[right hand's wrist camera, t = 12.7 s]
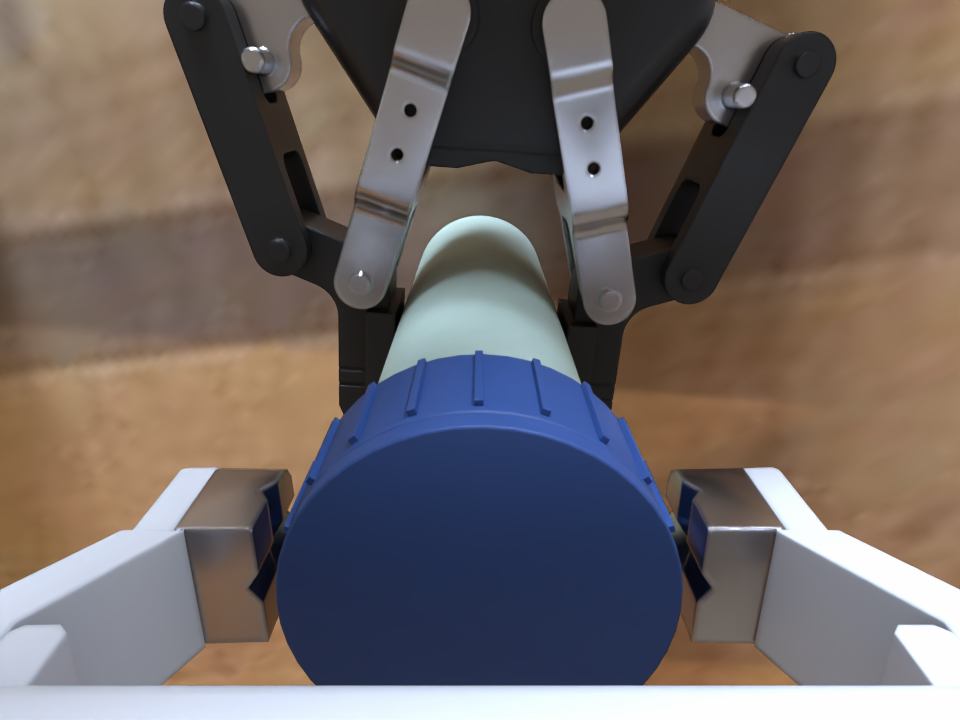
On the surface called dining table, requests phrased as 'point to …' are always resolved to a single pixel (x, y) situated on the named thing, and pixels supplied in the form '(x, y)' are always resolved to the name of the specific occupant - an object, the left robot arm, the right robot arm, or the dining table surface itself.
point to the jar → (479, 301)
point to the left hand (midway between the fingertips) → (473, 435)
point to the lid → (479, 537)
